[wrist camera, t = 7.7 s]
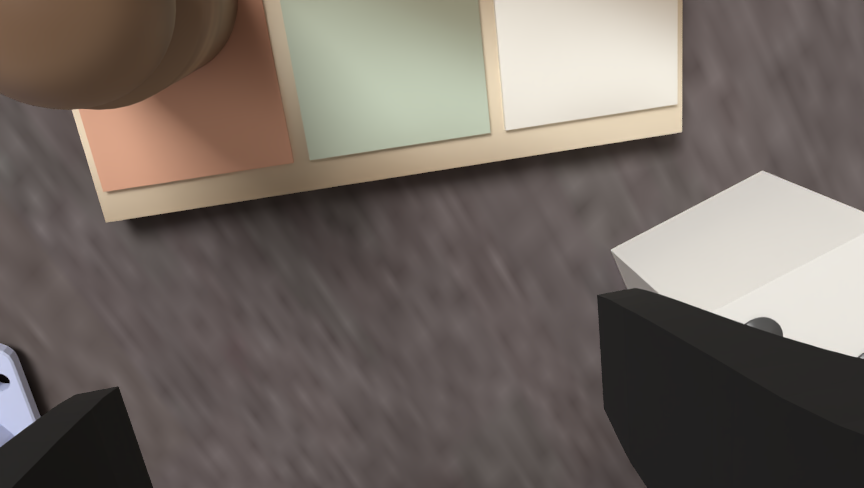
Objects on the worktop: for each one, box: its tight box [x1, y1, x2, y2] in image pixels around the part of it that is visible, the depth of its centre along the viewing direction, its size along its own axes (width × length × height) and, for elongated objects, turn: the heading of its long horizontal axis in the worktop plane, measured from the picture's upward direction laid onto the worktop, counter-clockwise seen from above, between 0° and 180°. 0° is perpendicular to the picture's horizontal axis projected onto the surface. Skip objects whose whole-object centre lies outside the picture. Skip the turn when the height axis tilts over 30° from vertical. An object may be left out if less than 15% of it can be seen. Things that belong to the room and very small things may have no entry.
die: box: [611, 171, 864, 359], centre depth 19 cm, size 5×5×5 cm
